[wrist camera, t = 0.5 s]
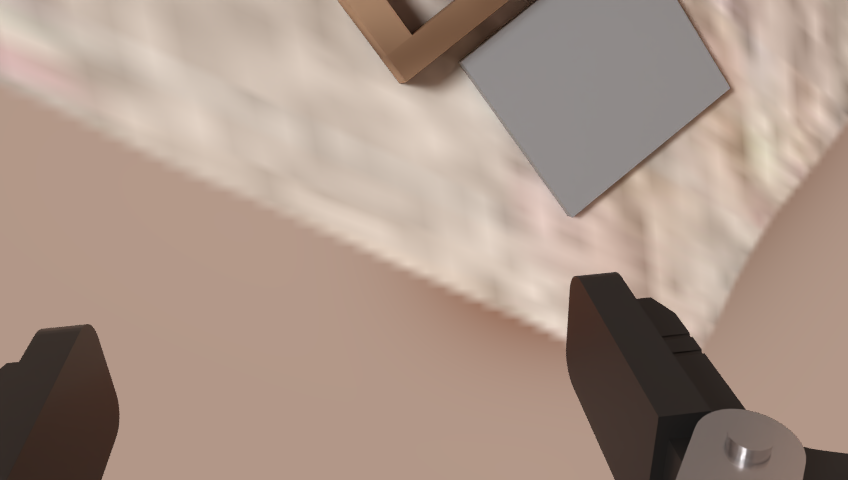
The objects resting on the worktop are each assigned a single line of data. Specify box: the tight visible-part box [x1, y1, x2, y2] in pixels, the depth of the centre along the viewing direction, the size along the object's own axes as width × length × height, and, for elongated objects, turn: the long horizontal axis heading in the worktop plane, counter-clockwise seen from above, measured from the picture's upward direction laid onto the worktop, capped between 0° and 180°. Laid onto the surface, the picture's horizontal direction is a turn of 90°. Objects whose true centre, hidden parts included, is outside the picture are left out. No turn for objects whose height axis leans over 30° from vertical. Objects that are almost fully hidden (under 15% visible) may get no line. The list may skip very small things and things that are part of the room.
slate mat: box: [458, 0, 730, 218], centre depth 38 cm, size 10×11×1 cm
